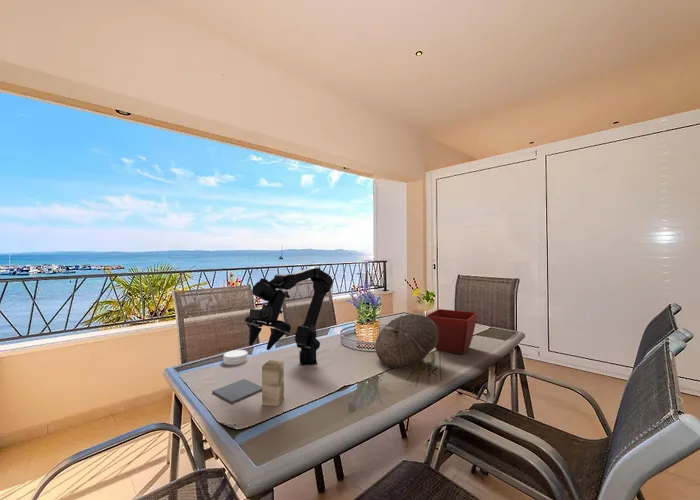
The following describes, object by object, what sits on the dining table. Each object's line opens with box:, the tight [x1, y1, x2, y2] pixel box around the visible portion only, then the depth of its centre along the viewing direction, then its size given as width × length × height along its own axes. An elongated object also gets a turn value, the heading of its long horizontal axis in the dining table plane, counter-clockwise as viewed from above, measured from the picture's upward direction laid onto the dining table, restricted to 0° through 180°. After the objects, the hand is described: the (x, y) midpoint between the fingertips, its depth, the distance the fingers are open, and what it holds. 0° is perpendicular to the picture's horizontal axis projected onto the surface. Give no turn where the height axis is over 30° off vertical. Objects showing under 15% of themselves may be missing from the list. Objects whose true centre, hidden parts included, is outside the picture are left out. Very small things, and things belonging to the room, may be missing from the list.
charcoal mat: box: [212, 378, 262, 404], centre depth 102 cm, size 12×12×1 cm
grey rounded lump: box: [375, 314, 439, 369], centre depth 128 cm, size 28×23×25 cm
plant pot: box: [426, 308, 478, 355], centre depth 145 cm, size 19×19×17 cm
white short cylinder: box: [222, 349, 249, 366], centre depth 131 cm, size 10×10×4 cm
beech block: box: [261, 359, 285, 407], centre depth 95 cm, size 5×5×12 cm
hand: (258, 347), depth 106 cm, fingers open, 9 cm apart
